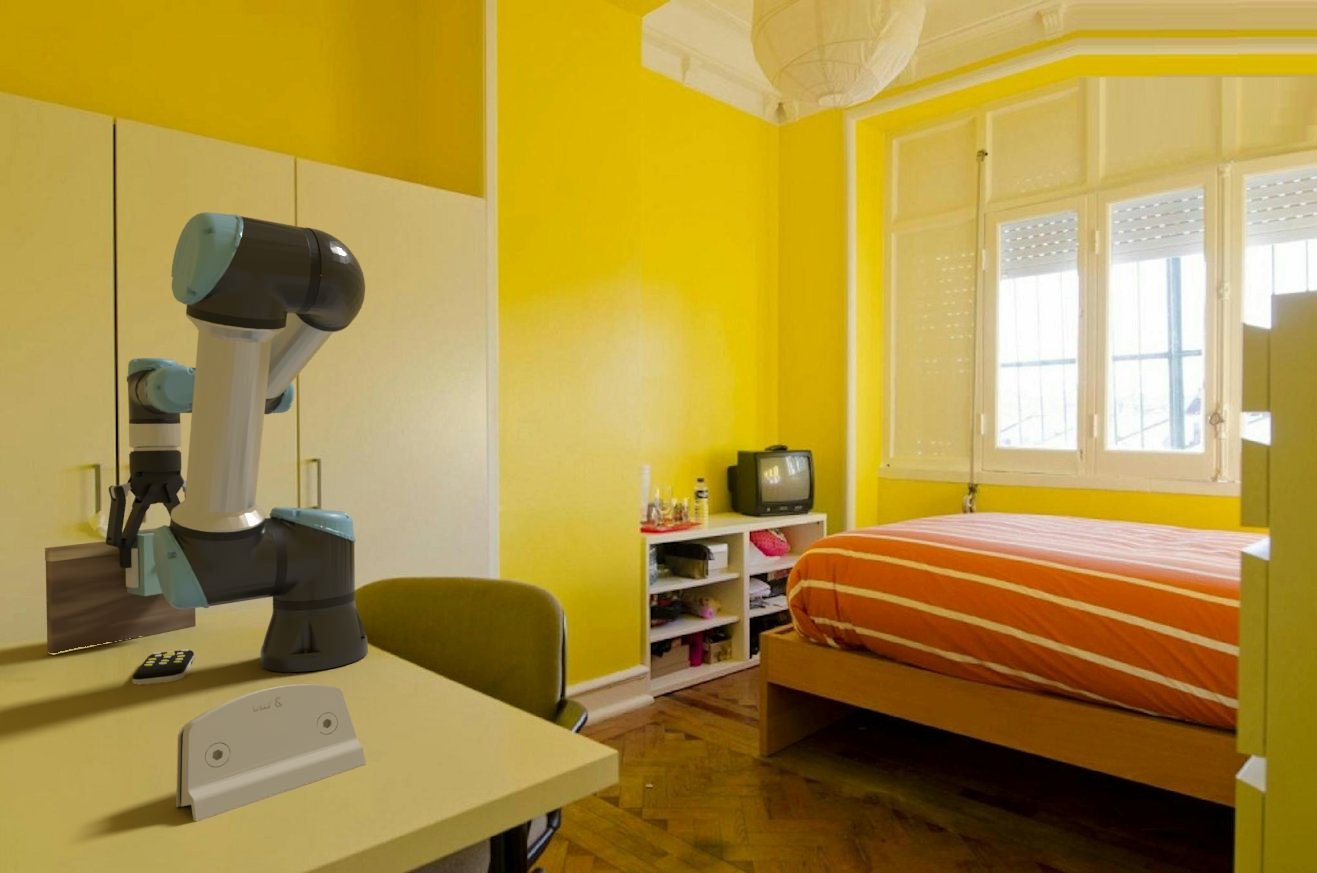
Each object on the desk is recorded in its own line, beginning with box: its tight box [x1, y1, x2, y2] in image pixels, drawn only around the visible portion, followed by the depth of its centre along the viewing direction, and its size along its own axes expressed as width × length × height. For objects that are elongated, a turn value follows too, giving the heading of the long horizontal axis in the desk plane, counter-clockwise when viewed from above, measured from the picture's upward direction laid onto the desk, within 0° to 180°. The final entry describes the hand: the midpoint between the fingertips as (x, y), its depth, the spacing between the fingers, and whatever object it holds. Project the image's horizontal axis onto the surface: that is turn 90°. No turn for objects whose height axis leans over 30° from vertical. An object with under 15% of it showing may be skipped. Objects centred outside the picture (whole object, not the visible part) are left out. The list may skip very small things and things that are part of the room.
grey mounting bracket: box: [175, 683, 366, 822], centre depth 79 cm, size 17×5×10 cm, turn 137°
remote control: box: [131, 648, 195, 686], centre depth 116 cm, size 6×13×2 cm, turn 23°
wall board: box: [44, 540, 196, 653], centre depth 135 cm, size 2×22×17 cm, turn 148°
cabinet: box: [127, 527, 163, 596], centre depth 136 cm, size 11×7×10 cm, turn 58°
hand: (157, 582), depth 135 cm, fingers open, 7 cm apart
